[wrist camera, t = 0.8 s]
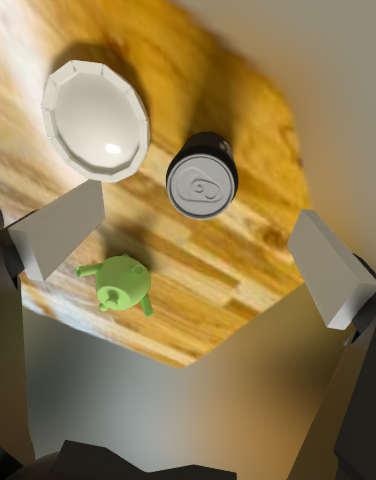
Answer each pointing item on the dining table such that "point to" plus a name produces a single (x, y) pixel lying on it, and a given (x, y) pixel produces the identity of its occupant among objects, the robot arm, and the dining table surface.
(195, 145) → the beverage can
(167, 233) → the dining table surface
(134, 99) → the saucer
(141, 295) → the green rounded body
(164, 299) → the dining table surface
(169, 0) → the dining table surface
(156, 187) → the dining table surface
